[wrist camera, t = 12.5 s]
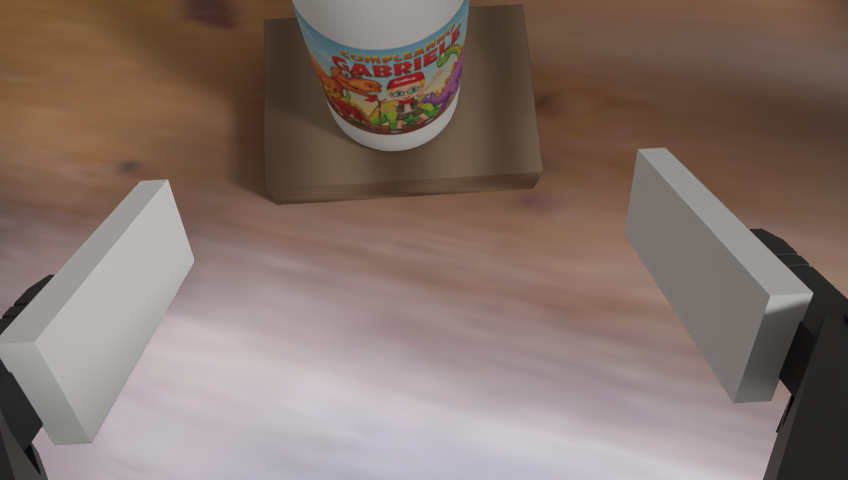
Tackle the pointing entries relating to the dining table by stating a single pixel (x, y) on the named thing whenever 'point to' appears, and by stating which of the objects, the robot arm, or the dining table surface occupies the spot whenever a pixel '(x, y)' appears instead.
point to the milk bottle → (387, 65)
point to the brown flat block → (417, 167)
